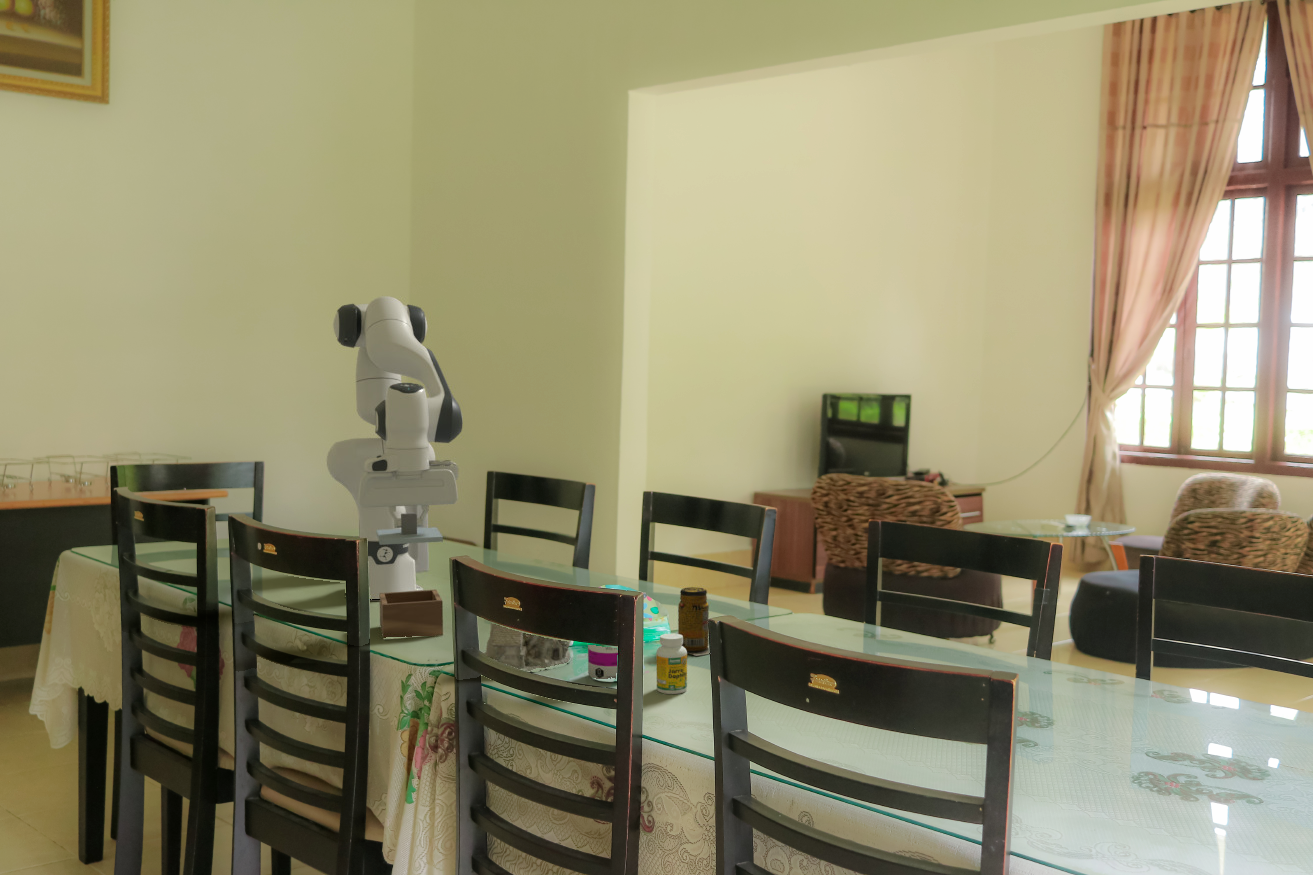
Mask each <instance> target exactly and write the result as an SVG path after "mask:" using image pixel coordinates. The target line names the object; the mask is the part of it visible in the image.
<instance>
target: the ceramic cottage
mask: <svg viewBox="0 0 1313 875" xmlns="http://www.w3.org/2000/svg"><path fill="white" fill-rule="evenodd" d="M570 642H571V641H570ZM570 642H567V641H561V640H556V639H549V638H544V637H541V636H536V635H531V634H526V633H522V632H519V631H515V630H512V629H508V628H506V627H502V626H500V625H496V624H492V623H490V632H489V637H488V640H487V642H486V650H485V652H484V653H483V655H484V654H485V655H486V656H487V657H490V658H492V659H495V660H497V661H498V662H501V663H503V664H507V665H509V666H512V667H515V668H518V669H522V670H525V671H530V672H532V671H531V670H533V669H536V668H546V667H550V666H555V665H559V664H564V663H567V662H568V661H569V660H570V658H571V654H570V651H569V647H570ZM571 659H572V658H571ZM569 662H570V661H569Z"/></svg>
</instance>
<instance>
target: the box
mask: <svg viewBox="0 0 1313 875" xmlns="http://www.w3.org/2000/svg"><path fill="white" fill-rule="evenodd" d="M379 597H380V600H379V626H381V628H380V632H381V631H382V632H381V635H382V634H383V637H382V639H383V638H386V637H405V636H406V637H412V636H430V637H438V636H437V635H443V636H444V618H443V617H444V613H443V612H444V611H443V605H444V604H443V599H442V597H441V595H440V594H439V592H438V590H437V589H423V590H421V591H405V592H390V593H379ZM435 635H436V636H435Z"/></svg>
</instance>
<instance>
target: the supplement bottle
mask: <svg viewBox="0 0 1313 875" xmlns="http://www.w3.org/2000/svg"><path fill="white" fill-rule="evenodd" d="M659 643H660V645H661V646H659V647H658V648H657V649H656V653H655V654H656V655H655V656H656V659H655V660H656V662H655V663H656V665H655V666H656V690H657V692H659V693H661V694H665V695H679V694H683V693H685V692H686V691H687V690H688V653H687V651H686V649H685V648H684V647H683V646H681V645H682V644H683V636H682V635H680V634H678V633H674V632H673V633H670V632H669V633H664V634H660V636H659Z"/></svg>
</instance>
